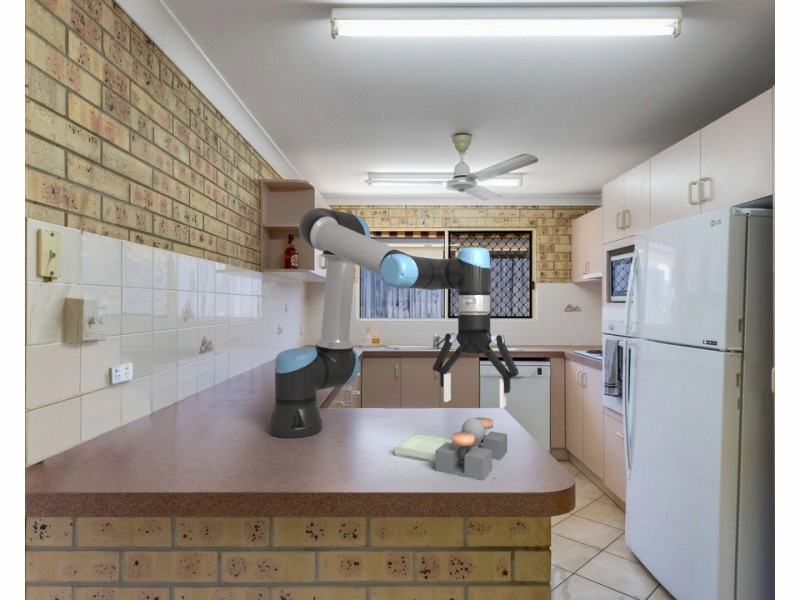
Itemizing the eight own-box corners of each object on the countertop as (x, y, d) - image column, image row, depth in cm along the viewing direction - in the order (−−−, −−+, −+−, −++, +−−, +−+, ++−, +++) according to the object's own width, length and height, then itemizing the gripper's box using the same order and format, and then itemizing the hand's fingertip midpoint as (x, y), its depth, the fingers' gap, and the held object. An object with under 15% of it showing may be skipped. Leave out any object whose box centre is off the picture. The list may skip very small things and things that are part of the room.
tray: (394, 455, 107) (394, 446, 107) (415, 441, 118) (415, 433, 118) (438, 463, 102) (438, 454, 102) (456, 449, 112) (456, 440, 112)
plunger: (448, 462, 97) (448, 437, 97) (456, 455, 101) (456, 431, 101) (470, 466, 94) (470, 440, 94) (477, 458, 99) (477, 434, 99)
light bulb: (484, 465, 101) (485, 422, 101) (460, 464, 102) (461, 420, 102) (485, 457, 106) (485, 416, 106) (462, 455, 107) (462, 414, 107)
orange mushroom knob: (469, 443, 109) (469, 421, 109) (476, 437, 114) (476, 416, 114) (489, 446, 107) (489, 424, 107) (495, 440, 111) (495, 419, 111)
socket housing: (435, 470, 98) (435, 450, 98) (465, 444, 115) (465, 427, 115) (483, 480, 93) (483, 458, 93) (507, 451, 110) (507, 433, 110)
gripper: (419, 313, 106) (419, 401, 106) (524, 314, 95) (524, 413, 95) (431, 312, 113) (432, 395, 113) (531, 313, 102) (531, 406, 101)
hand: (474, 403), depth 104 cm, fingers open, 13 cm apart
